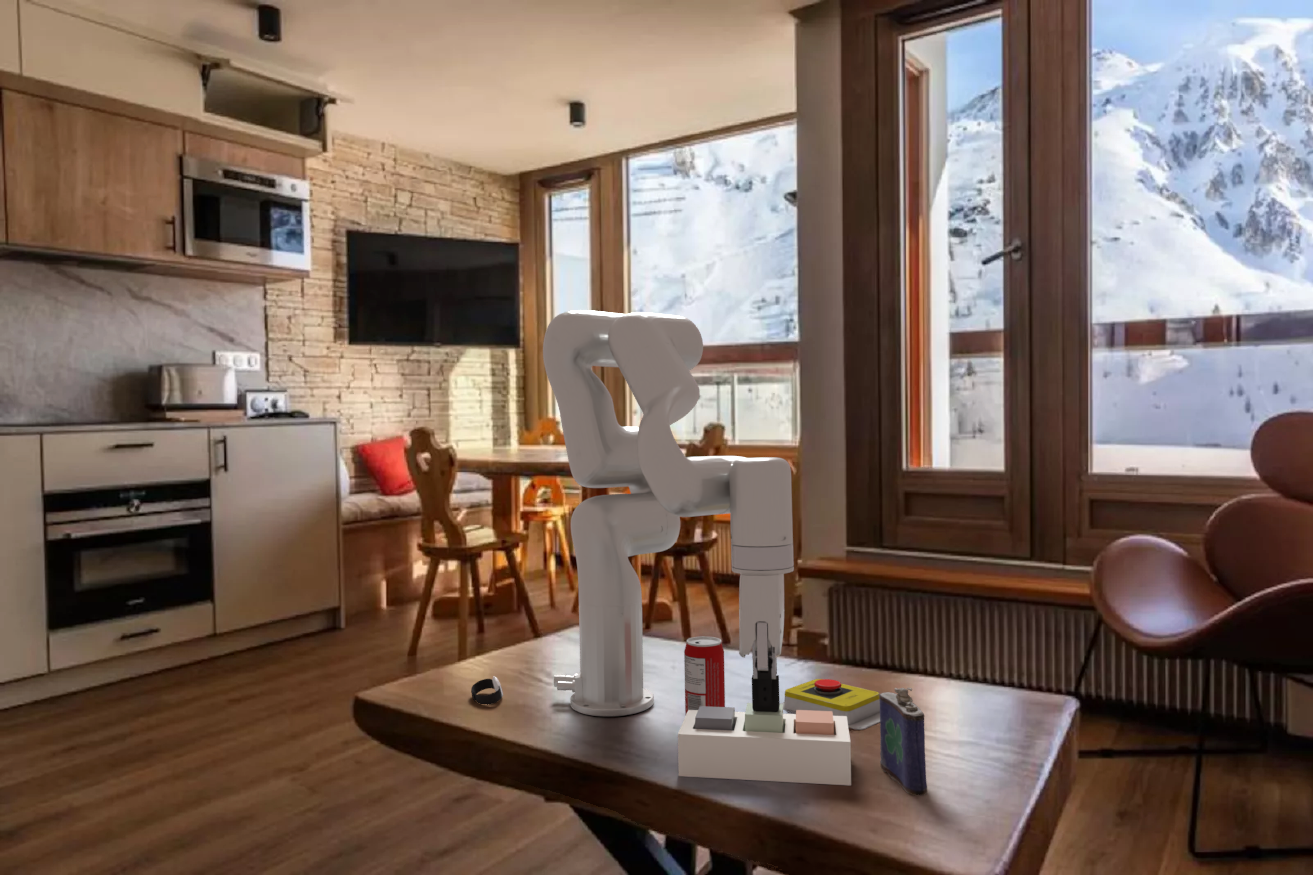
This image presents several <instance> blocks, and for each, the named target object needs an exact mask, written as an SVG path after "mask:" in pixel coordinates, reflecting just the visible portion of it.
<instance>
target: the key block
mask: <svg viewBox="0 0 1313 875" xmlns="http://www.w3.org/2000/svg"><path fill="white" fill-rule="evenodd" d="M697 712H698V710H688V712H687V714H686V716H685V717H684V718H683V721H682V724H681V726H680V727H679V730H678V732H677V757H678V760H677V764H678V768H677V769H678V777H689V778H703V779H705V778H706V779H724V780H725V779H726V780H727V779H729V780H743V781H744V780H745V781H746V780H747V781H761V782H779V783H781V782H782V783H796V784H797V783H801V784H818V785H819V784H820V785H835V786H852V763H851V762H852V761H851V760H852V759H851V754H852V753H851V748H852V747H851V736H850V730H849V729H850V728H848V721H847V716H833V723H834V735H821V734H798V733H796V713H783V733H776V732H753V731H745V711H735V729H734V731H730V730H708V729H695V717H696V714H697Z"/></svg>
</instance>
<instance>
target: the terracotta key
mask: <svg viewBox="0 0 1313 875" xmlns="http://www.w3.org/2000/svg"><path fill="white" fill-rule="evenodd" d="M795 714H796V733H798V734H821V735H834V723H833V712H832V711H812V710H796V713H795Z"/></svg>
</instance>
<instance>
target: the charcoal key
mask: <svg viewBox="0 0 1313 875" xmlns="http://www.w3.org/2000/svg"><path fill="white" fill-rule="evenodd" d="M735 710H736V708H735V707H733V706H732V707H729V706H728V707H727V706H725V707H708V706H700V707H699V709H698V712H697V714H696V717H695V729H708V730H730V731H734V729H735V712H736V711H735Z"/></svg>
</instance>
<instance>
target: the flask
mask: <svg viewBox="0 0 1313 875" xmlns="http://www.w3.org/2000/svg"><path fill="white" fill-rule="evenodd" d="M909 691H910V692H912V691H913V688H911V687H906V688H904V687H900V688H897V687H894V692H895V693H894V692H892V691H891V692H889V691H888V692H881V693H879V701H880V722H879V724H880V727H879V729H880V731H879V732H880V740H879V741H880V752H879V754H880V761H879V762H880V763H879V764H880V767H881V769H882V771H883V772H886V773H887V774H888V775H889V777H890V779H891V780H893V781H895V782H897V785H899V786H902V789H903V790H904V791H905V792H906V793H907V794H909V795H913V796H924V795H927V794H928V785H927V771H926V770H927V769H926V766H927V764H926V750H925V749H926V745H925V744H926V742H925V740H926V738H925V736H926V734H925V713H924V712H923V711H922V710H921V708H920V707H919V706H918V705H917V704H915V703H914V700H913V697H912V696H910V694H909Z"/></svg>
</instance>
